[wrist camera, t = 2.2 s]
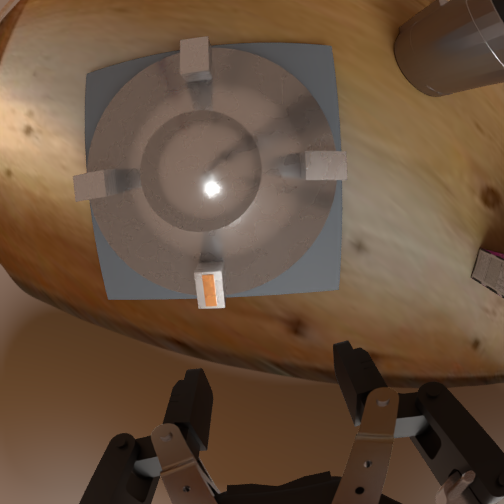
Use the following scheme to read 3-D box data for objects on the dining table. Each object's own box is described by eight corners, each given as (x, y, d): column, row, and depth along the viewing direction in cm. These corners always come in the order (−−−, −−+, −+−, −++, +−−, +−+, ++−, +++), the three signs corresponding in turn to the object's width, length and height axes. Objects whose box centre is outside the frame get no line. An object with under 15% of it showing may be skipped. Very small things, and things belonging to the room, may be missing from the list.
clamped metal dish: (92, 78, 22) (73, 69, 18) (323, 52, 22) (335, 36, 18) (112, 292, 29) (97, 309, 25) (331, 282, 29) (342, 299, 25)
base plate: (92, 76, 23) (86, 73, 21) (327, 51, 23) (331, 45, 22) (113, 293, 31) (107, 299, 29) (334, 284, 31) (339, 290, 29)
